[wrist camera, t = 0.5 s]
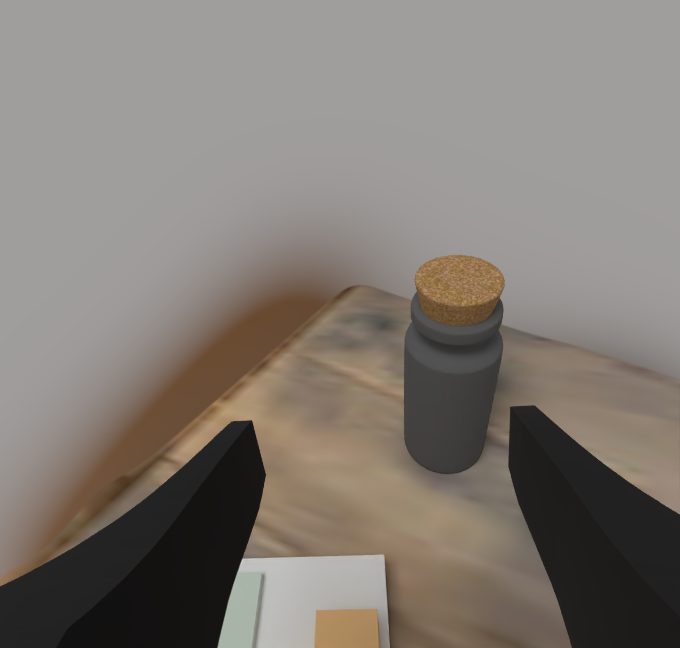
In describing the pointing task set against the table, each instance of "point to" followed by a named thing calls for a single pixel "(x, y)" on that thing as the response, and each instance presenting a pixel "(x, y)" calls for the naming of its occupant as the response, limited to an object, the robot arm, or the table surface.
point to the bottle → (452, 361)
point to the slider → (347, 628)
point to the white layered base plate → (315, 595)
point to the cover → (242, 612)
